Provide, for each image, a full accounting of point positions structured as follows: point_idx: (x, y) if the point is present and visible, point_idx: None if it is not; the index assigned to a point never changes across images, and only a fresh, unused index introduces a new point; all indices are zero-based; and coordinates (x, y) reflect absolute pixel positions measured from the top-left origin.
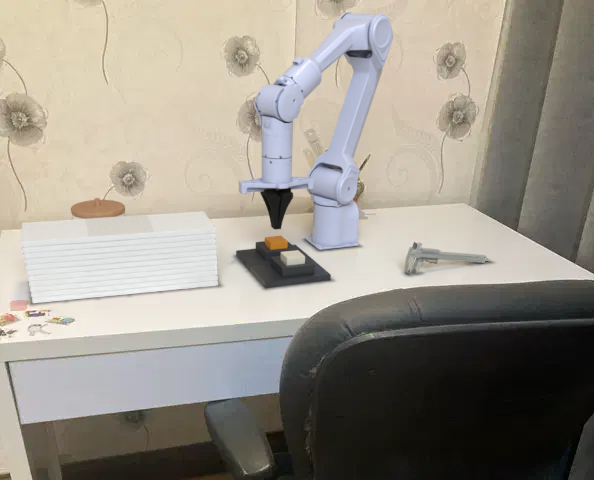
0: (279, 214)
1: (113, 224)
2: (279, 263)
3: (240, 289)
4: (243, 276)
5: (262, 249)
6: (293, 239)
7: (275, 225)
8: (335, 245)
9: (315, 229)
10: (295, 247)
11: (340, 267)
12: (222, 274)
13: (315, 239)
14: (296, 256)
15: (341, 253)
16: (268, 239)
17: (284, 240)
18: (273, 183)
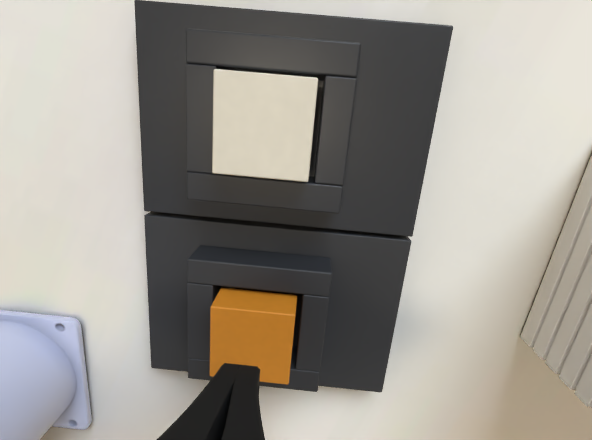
0: (212, 429)
1: None
2: (343, 115)
3: (538, 68)
4: (452, 195)
5: (326, 314)
6: (130, 435)
7: (254, 377)
8: (7, 321)
9: (34, 409)
10: (162, 341)
11: (57, 135)
12: (512, 243)
13: (63, 377)
14: (260, 82)
15: (9, 265)
16: (285, 354)
17: (221, 318)
18: None
